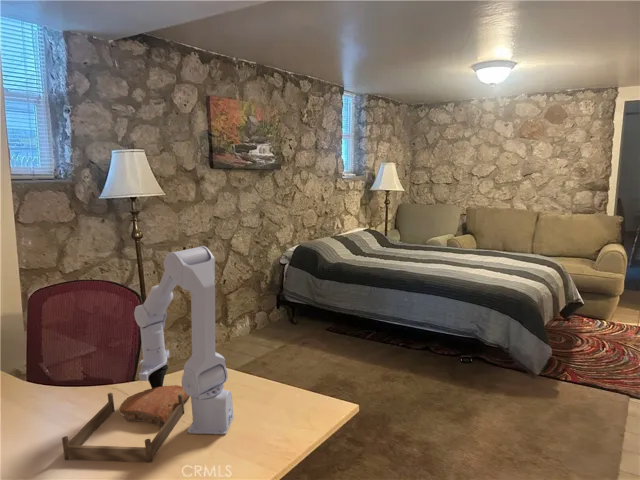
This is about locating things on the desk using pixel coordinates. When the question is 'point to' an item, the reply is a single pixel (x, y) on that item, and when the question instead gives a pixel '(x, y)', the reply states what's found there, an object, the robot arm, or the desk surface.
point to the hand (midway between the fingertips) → (157, 392)
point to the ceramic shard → (152, 404)
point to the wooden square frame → (114, 453)
